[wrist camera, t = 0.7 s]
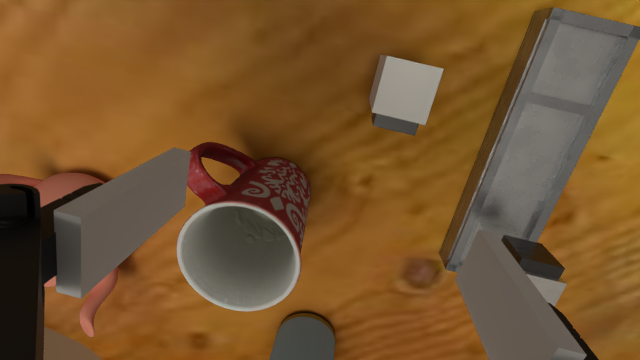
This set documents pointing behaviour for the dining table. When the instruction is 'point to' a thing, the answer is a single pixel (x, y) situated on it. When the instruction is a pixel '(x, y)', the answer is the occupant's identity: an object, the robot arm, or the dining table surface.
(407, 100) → the small grey block
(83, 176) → the teapot
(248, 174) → the mug
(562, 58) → the rail
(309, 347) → the bottle
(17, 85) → the dining table surface
